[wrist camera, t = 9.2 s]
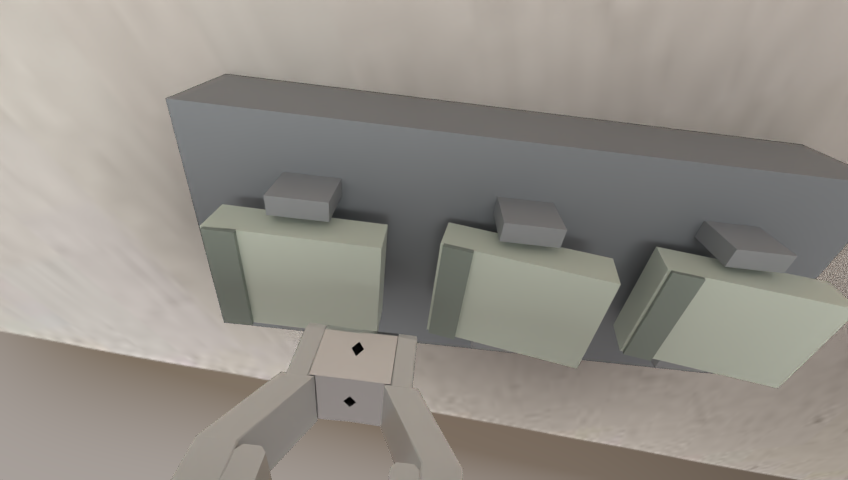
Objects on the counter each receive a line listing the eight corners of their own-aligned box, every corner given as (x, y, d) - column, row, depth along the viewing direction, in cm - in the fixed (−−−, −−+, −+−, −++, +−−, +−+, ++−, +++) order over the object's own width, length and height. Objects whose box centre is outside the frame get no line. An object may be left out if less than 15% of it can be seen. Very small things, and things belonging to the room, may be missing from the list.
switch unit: (802, 144, 16) (958, 213, 11) (682, 319, 22) (752, 414, 17) (225, 74, 15) (126, 114, 10) (259, 273, 21) (205, 358, 16)
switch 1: (387, 224, 13) (380, 251, 12) (382, 310, 15) (375, 340, 14) (222, 204, 13) (196, 228, 12) (241, 292, 15) (221, 321, 14)
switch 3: (829, 281, 13) (862, 313, 12) (758, 358, 15) (780, 392, 14) (656, 246, 14) (669, 272, 12) (613, 324, 16) (620, 353, 15)
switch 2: (613, 258, 13) (621, 287, 11) (573, 340, 15) (577, 372, 14) (448, 222, 13) (439, 245, 12) (434, 304, 16) (426, 332, 14)
